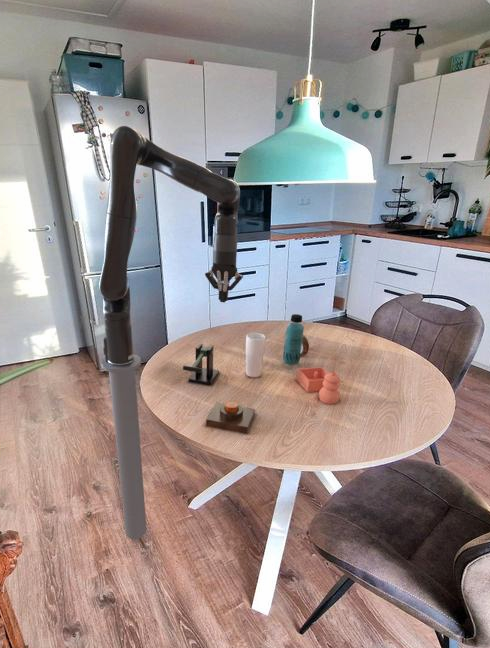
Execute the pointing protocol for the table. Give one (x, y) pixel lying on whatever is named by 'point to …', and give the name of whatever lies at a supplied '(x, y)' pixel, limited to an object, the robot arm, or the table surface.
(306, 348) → the brown curved piece
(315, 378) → the pottery
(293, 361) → the beverage bottle
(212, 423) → the button block
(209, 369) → the lever stand
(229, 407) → the button
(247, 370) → the drinking glass
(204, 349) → the lever
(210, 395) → the table surface
